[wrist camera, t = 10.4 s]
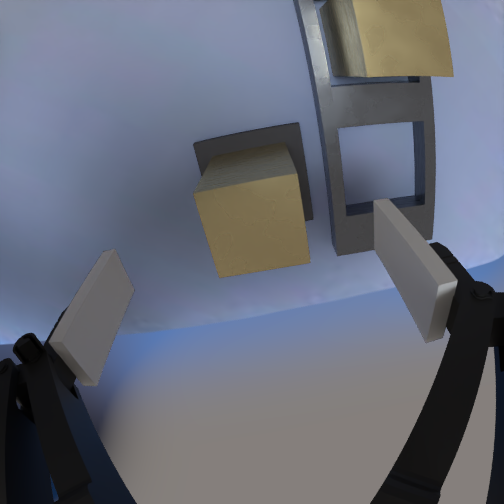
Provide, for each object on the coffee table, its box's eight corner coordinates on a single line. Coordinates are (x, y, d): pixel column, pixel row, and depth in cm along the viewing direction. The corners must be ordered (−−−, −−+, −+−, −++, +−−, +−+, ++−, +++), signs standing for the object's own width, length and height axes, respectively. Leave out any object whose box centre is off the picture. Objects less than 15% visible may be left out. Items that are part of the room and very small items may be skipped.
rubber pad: (219, 232, 27) (218, 235, 27) (194, 142, 23) (193, 144, 23) (312, 216, 26) (313, 219, 26) (298, 122, 22) (298, 123, 22)
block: (333, 76, 20) (367, 77, 14) (319, 9, 18) (347, -19, 11) (399, 72, 20) (453, 77, 13) (387, 8, 17) (437, -12, 10)
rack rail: (332, 244, 28) (337, 256, 26) (283, -36, 16) (286, -45, 14) (422, 228, 27) (432, 239, 25) (395, -36, 15) (404, -42, 13)
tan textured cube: (229, 220, 26) (219, 277, 19) (212, 156, 23) (193, 193, 17) (296, 208, 25) (310, 262, 19) (284, 142, 23) (297, 173, 16)
